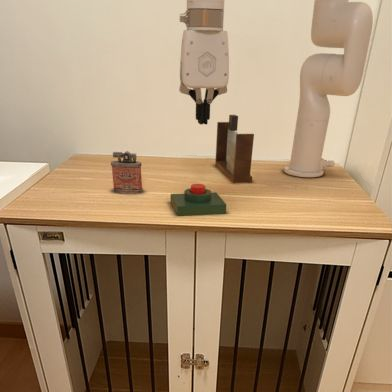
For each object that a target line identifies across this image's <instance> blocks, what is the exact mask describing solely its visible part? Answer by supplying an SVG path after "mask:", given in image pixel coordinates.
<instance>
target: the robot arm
mask: <svg viewBox="0 0 392 392" xmlns="http://www.w3.org/2000/svg"><path fill="white" fill-rule="evenodd" d="M224 10H225V0H186V10H185V12H183V13H179V22H180V23H183V24H184V25H185V27H186V29H183V32H182V38H181V44H180V45H181V46H180V59H179V81H180V83H179V88H178V92H179V93H181V94H183V95H186V96H189V97H190V98H191V99H192V100H193V102H194V103H195V120H196V121H197V123H198V124H199V125H208V123H209V122H208V121H209V120H210V119H211V104H212V103H213V101H214V100H215V99H216V98H217V97H218V96H220V95H224V94H226V93H228V84H229V78H230V77H229V76H230V56H229V55H230V54H229V53H230V52H229V36H228V35H229V34H228V31H227V30H224V17H225V11H224ZM373 24H374V16H373V10H372V8H371V6H370V5H369V4H368V3H367V2H363V1H349V0H314V1H313V10H312V19H311V28H310V40H311V42H312V44H313V45H314V46H316V47H318V48H330V49H343V53H340V54H338V53H323V52H320V53H314V54H311V55H309V56H308V57H307V58H306V59H305V60H304V61H303V63H302V65H301V68H300V72H299V100H298V108H297V116H296V122H295V129H294V135H293V143H292V147H291V154H290V161H289V165H286V166H284V169H283V171H284V173H285V174H287V175H290V176H293V177H299V178H320V177H322V176H324V173H325V170H324V169H325V168H333V167H334V166H335V163H336V162H335V160H328V159H325V158H323V152H324V147H325V141H326V138H327V137H326V136H327V132H328V126H329V121H330V117H331V105H330V102H329V98H328V96H337V97H349V96H352V95H354V94H355V93H356V92H357V90H358V89H359V88H360V85H361V83H362V79H363V75H364V71H365V66H366V61H367V56H368V51H369V46H370V42H371V41H370V40H371V35H372V31H373ZM202 89H205V91H204V99H202V97H203V96H202Z"/></svg>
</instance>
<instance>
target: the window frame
mask: <svg viewBox="0 0 392 392" xmlns="http://www.w3.org/2000/svg"><path fill="white" fill-rule="evenodd" d="M228 128H229V121H217V124H216V143H215V159H214V160H215V163H214V165H215V167H216V168H217V169H218V170H219V171H221V173H223V174H224V176H226V178H228V179H229V180H230V181H231V182H232V183H233V184H243V183H244V184H245V183H247V184H248V183H252V182H253V176H252V175H251V170H252V169H251V168H252V161H253V158H252V157H253V148H254V141H255V140H254V138H255V134H254V133H237V134H236V142H235V144H234V143H233V142H232V141H228V155H227V161H226V152H227V137H228Z"/></svg>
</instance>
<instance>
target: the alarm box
mask: <svg viewBox="0 0 392 392" xmlns="http://www.w3.org/2000/svg"><path fill="white" fill-rule="evenodd" d="M170 204H171V206H172V208H173V210H174V212H175V213H176V216H178V217H181V216H197V215H218V214H220V215H223V214H227V203H226V202H225V201H224V200H223V198H222V197H221V196H220V195H219V194H218V193H217V192H215V191H214V192H213V191H211V189H209V188H205V193H204V194H193V193H191V187H190V188H186V189H185V190H184V192H183V193H170Z"/></svg>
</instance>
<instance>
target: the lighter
mask: <svg viewBox="0 0 392 392" xmlns="http://www.w3.org/2000/svg"><path fill="white" fill-rule="evenodd" d="M112 158H113V159H117V160H111V161H110V166H111V173H112V184H113V187H112V190H113V193H118V194H143V193H144V190H143V183H142V181H143V179H142V161H137V153H135V152H133V153H132V152H130V151H129V150H126V151H125V152H122V151H113V152H112Z"/></svg>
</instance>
